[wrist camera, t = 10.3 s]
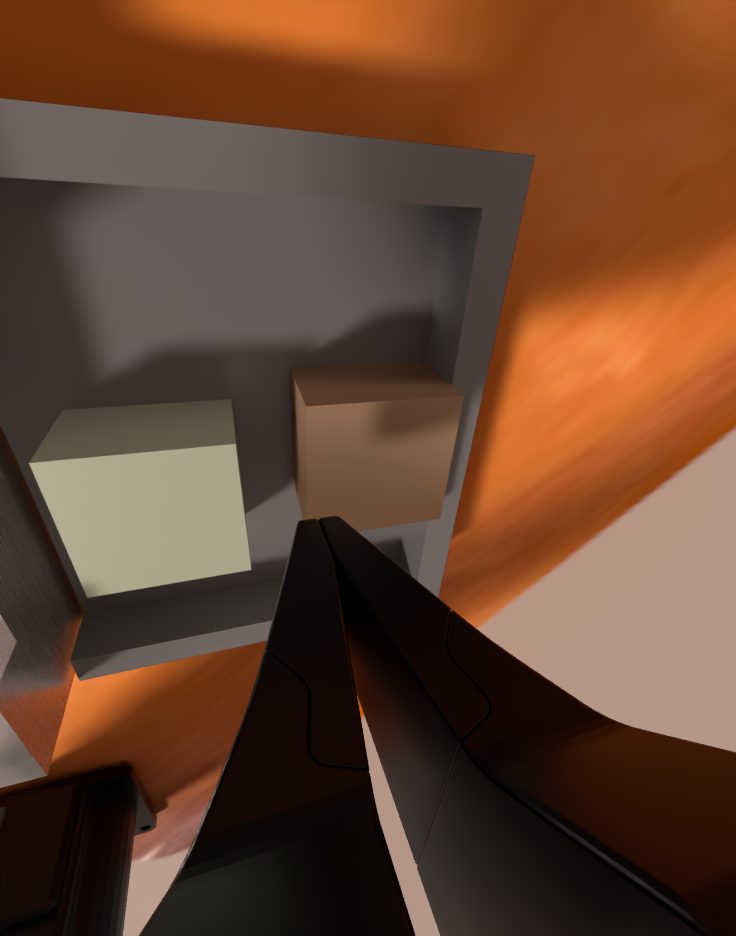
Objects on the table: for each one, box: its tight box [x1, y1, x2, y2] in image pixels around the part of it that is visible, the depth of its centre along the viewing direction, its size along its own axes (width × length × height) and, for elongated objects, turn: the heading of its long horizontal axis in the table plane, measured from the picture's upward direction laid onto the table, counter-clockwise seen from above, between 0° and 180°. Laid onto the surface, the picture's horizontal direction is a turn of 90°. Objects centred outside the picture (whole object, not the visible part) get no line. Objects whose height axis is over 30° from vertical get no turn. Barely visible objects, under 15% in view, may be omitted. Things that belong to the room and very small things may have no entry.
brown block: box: [290, 362, 464, 531], centre depth 12 cm, size 4×4×2 cm
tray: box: [0, 98, 535, 681], centre depth 12 cm, size 14×12×2 cm
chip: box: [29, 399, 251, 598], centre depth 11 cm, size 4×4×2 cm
